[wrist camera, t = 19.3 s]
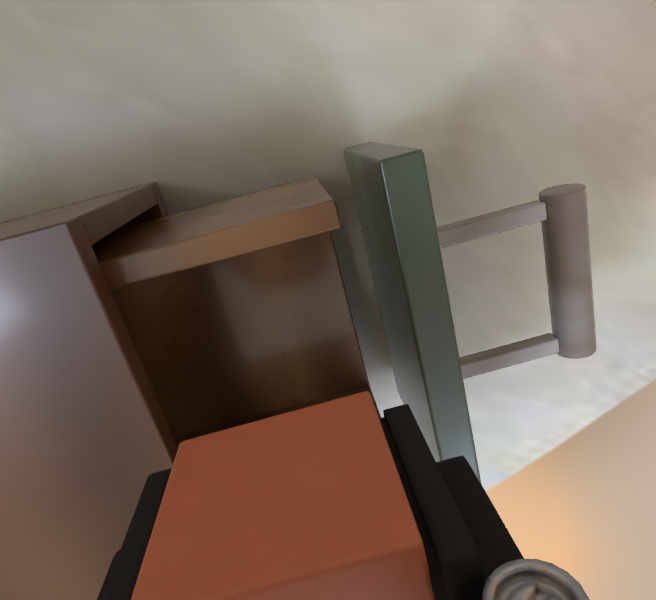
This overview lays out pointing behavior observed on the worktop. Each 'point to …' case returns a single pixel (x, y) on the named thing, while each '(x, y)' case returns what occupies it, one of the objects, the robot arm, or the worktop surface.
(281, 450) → the block
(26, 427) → the cabinet
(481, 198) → the worktop surface
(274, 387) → the drawer
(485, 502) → the robot arm
